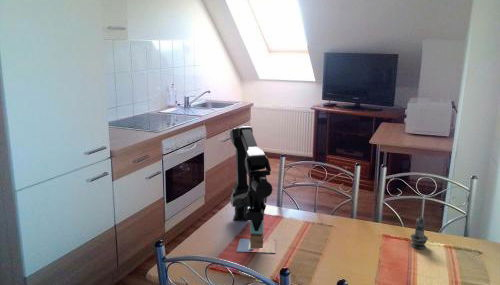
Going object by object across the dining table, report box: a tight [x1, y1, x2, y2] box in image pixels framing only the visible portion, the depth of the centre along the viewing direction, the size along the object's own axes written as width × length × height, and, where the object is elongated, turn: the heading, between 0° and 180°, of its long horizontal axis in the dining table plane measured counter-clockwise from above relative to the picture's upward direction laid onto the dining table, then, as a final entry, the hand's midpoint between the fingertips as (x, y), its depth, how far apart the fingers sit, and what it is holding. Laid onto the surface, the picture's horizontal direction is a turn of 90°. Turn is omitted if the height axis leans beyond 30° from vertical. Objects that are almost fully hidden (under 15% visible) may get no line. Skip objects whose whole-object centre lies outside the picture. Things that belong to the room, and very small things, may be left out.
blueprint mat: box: [236, 238, 259, 253], centre depth 154 cm, size 10×14×1 cm
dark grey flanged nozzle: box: [410, 215, 429, 251], centre depth 151 cm, size 6×6×12 cm
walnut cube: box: [249, 233, 264, 248], centre depth 153 cm, size 4×4×4 cm
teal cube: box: [249, 220, 265, 235], centre depth 152 cm, size 4×4×4 cm
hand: (256, 228), depth 152 cm, fingers closed on teal cube, 4 cm apart
